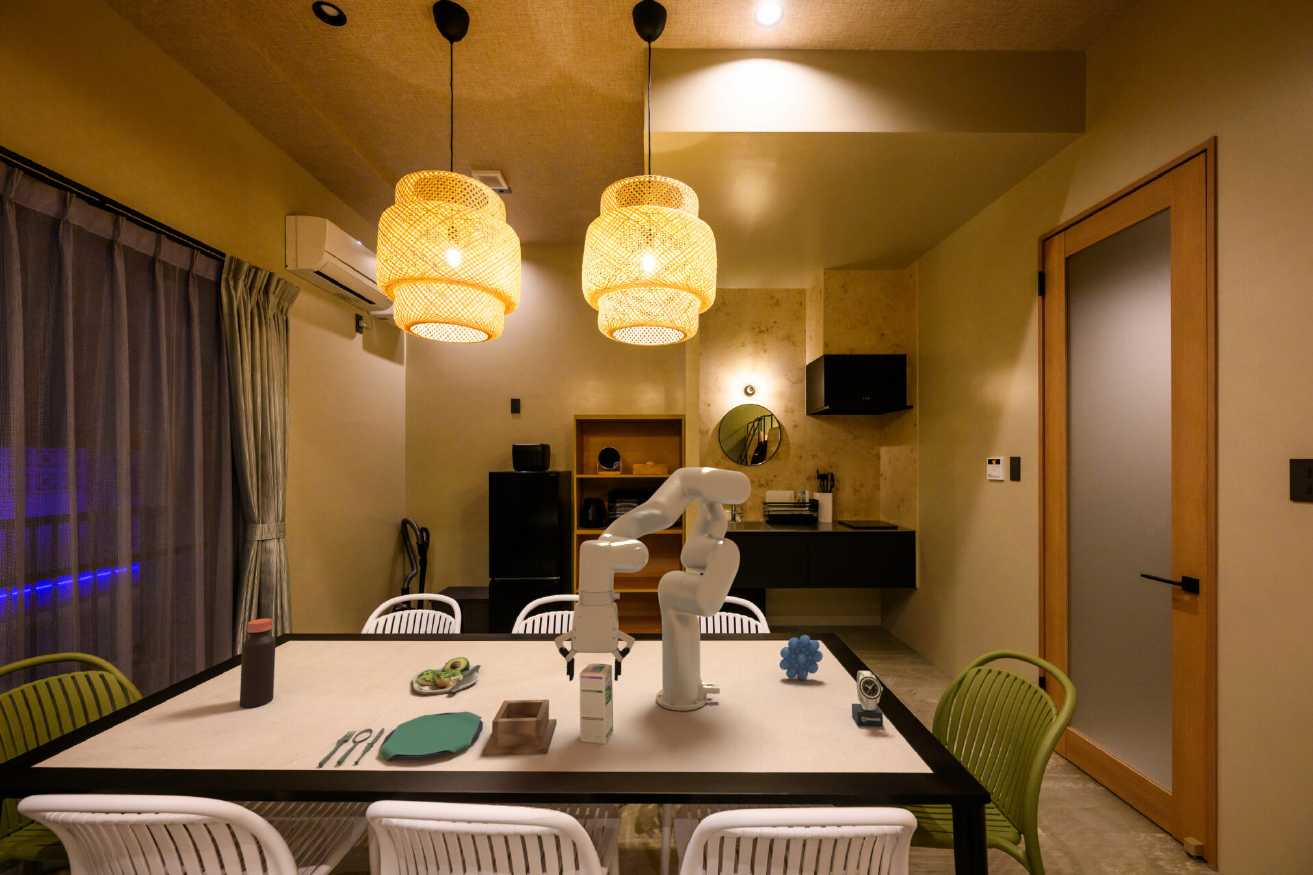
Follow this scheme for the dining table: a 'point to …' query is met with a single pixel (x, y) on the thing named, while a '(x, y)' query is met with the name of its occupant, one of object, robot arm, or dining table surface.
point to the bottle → (257, 665)
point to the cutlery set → (420, 737)
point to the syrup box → (596, 703)
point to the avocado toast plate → (447, 677)
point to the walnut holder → (521, 729)
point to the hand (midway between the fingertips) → (594, 678)
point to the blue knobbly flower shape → (800, 657)
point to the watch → (867, 701)
